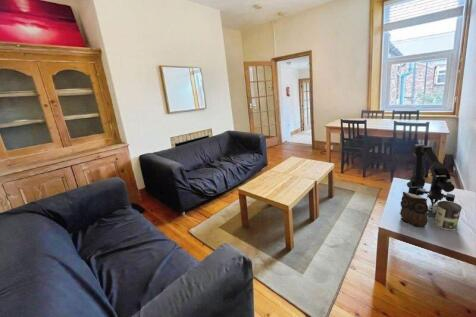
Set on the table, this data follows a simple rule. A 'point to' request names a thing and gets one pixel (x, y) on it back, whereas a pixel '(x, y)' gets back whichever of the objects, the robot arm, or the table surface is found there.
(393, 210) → the table surface
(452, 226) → the coffee can
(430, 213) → the panel
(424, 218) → the owl
